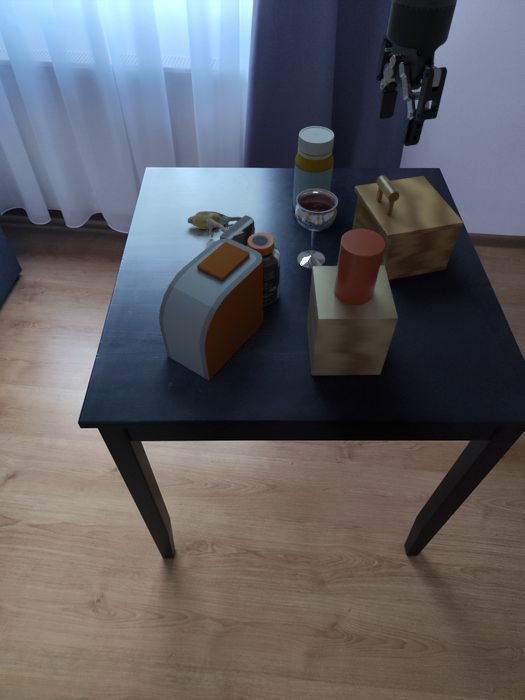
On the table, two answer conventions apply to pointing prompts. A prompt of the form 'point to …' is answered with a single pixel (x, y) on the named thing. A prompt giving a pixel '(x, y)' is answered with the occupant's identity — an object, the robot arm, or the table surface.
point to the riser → (348, 327)
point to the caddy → (410, 247)
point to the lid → (406, 206)
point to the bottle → (313, 160)
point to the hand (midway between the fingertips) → (396, 130)
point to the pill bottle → (267, 265)
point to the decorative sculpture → (215, 219)
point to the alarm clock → (213, 306)
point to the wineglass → (315, 220)
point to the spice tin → (358, 266)
